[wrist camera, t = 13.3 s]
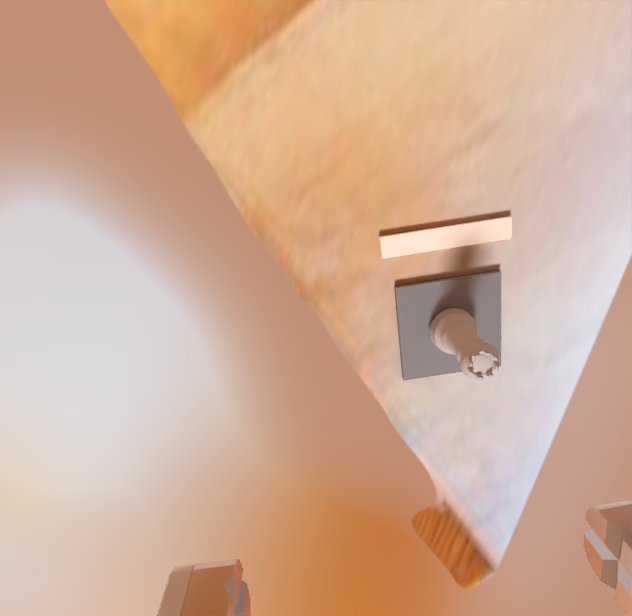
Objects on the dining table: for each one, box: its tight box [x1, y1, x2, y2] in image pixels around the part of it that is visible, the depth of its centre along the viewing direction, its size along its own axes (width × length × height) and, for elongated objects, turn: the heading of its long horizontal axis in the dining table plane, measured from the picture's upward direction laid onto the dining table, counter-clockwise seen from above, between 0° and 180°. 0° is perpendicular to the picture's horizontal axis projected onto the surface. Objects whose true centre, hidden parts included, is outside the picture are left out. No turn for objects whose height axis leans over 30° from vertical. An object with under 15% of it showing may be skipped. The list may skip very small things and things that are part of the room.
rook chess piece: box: [429, 308, 499, 380], centre depth 38 cm, size 4×4×8 cm
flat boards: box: [379, 216, 512, 380], centre depth 41 cm, size 15×12×1 cm
